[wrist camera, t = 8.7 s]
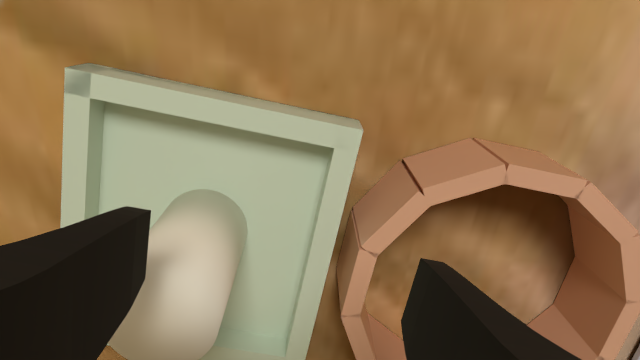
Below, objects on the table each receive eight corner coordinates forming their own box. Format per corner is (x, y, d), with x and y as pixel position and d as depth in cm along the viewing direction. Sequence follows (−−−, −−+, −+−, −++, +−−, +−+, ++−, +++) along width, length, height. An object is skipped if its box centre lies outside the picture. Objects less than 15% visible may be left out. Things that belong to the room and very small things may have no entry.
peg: (253, 198, 21) (227, 279, 14) (240, 271, 22) (210, 377, 16) (167, 181, 21) (100, 256, 14) (159, 256, 22) (93, 358, 15)
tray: (358, 120, 20) (363, 130, 19) (301, 348, 25) (301, 376, 23) (88, 62, 19) (64, 67, 18) (77, 311, 24) (57, 337, 22)
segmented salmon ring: (630, 171, 21) (698, 203, 18) (534, 377, 26) (572, 438, 22) (375, 116, 20) (389, 138, 17) (317, 340, 24) (317, 399, 21)
